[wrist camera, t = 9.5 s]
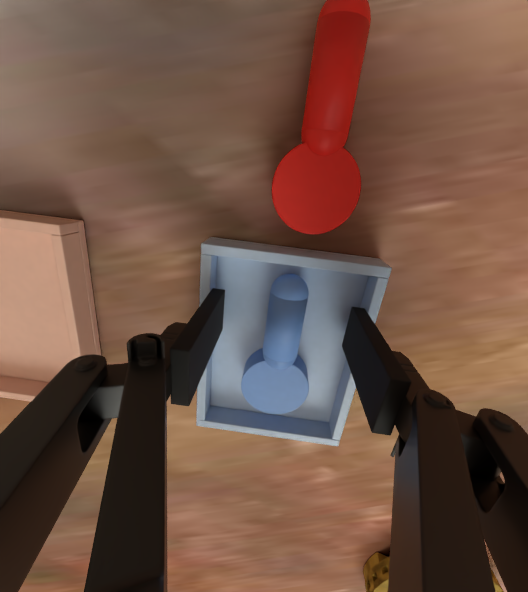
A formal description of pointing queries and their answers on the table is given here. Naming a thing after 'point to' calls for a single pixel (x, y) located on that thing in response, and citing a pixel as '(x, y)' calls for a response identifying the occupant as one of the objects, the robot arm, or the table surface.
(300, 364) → the blue spoon
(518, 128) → the table surface
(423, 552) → the robot arm
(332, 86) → the red spoon
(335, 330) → the blue tray
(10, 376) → the rose tray
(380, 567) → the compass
